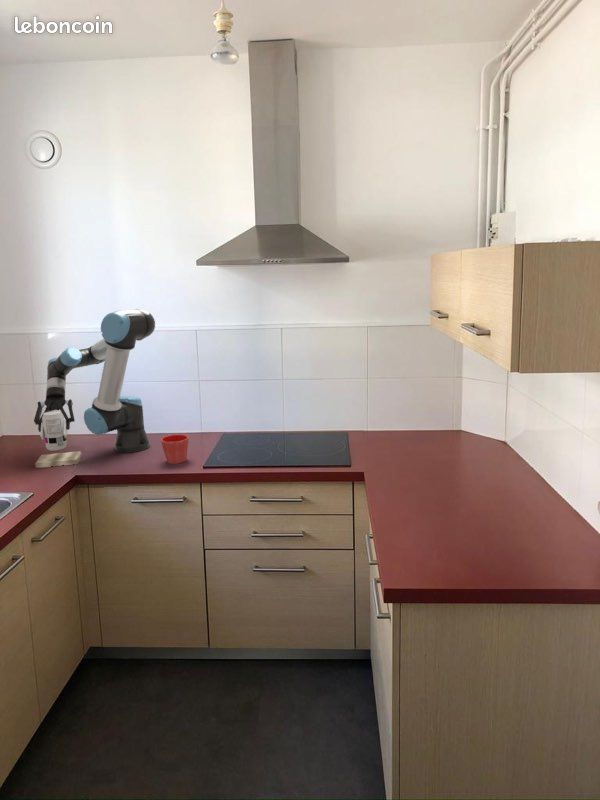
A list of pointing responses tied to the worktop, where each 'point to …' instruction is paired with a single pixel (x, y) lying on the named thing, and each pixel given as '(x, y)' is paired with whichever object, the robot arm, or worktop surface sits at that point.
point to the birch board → (58, 459)
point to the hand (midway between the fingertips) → (53, 436)
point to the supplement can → (54, 430)
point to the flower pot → (175, 448)
